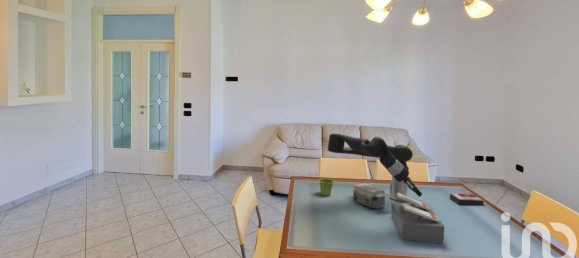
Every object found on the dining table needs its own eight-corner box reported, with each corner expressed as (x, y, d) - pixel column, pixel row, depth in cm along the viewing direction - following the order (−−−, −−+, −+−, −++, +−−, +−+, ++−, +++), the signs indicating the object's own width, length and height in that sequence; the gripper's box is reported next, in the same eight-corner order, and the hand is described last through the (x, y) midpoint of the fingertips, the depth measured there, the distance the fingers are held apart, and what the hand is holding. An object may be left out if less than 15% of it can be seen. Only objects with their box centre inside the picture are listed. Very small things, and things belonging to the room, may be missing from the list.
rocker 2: (402, 205, 163) (403, 203, 163) (434, 217, 162) (435, 215, 161) (405, 209, 157) (405, 207, 157) (438, 222, 156) (439, 220, 156)
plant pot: (334, 192, 219) (335, 179, 218) (331, 197, 211) (332, 183, 209) (320, 190, 222) (320, 178, 221) (316, 195, 214) (317, 182, 212)
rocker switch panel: (391, 216, 183) (392, 197, 182) (426, 218, 181) (427, 200, 179) (401, 240, 155) (403, 218, 154) (443, 243, 153) (445, 221, 152)
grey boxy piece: (376, 212, 186) (376, 194, 186) (346, 199, 212) (346, 183, 211) (393, 209, 191) (393, 192, 190) (362, 196, 217) (362, 181, 216)
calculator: (484, 200, 203) (459, 198, 202) (483, 207, 203) (458, 205, 203) (473, 193, 214) (450, 192, 213) (472, 200, 214) (449, 199, 214)
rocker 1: (396, 194, 177) (397, 192, 177) (425, 206, 176) (426, 204, 176) (399, 198, 172) (399, 196, 171) (429, 210, 171) (430, 208, 170)
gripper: (389, 171, 180) (411, 195, 180) (393, 178, 167) (418, 204, 167) (400, 162, 178) (423, 186, 179) (406, 168, 165) (430, 194, 166)
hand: (420, 195), depth 173 cm, fingers closed
